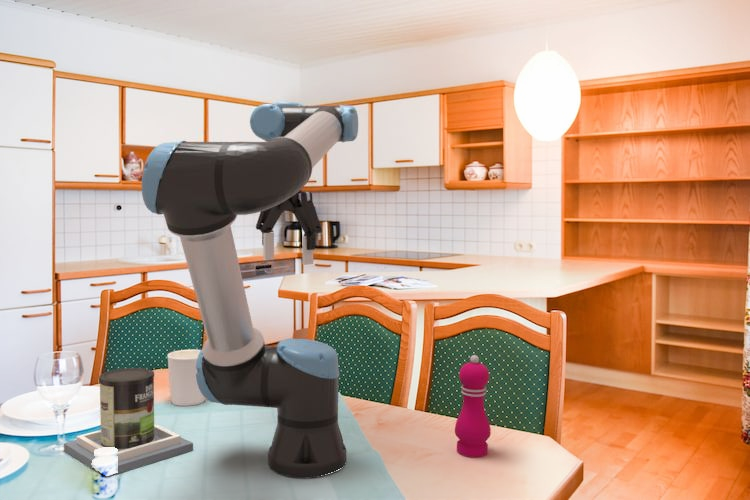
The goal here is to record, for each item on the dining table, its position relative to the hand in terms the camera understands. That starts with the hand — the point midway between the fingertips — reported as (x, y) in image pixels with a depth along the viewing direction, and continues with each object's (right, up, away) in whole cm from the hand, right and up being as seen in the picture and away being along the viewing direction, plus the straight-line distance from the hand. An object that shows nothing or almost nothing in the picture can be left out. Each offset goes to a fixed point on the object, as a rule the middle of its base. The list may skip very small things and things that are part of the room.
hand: (287, 262), depth 153 cm
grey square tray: (-29, -37, -22) cm, 52 cm away
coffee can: (-29, -36, -22) cm, 51 cm away
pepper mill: (+40, -39, -20) cm, 59 cm away
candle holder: (-26, -35, +11) cm, 45 cm away
